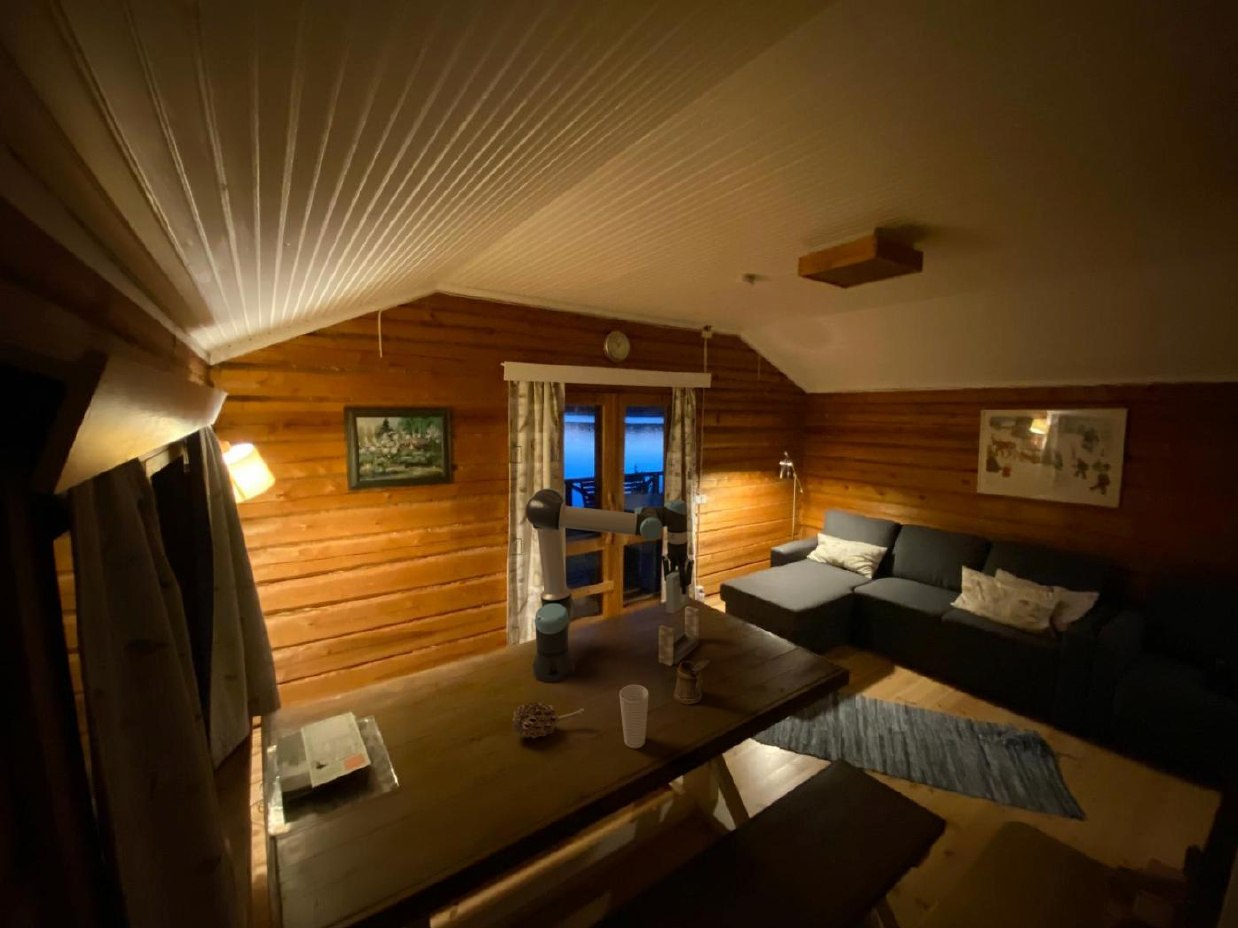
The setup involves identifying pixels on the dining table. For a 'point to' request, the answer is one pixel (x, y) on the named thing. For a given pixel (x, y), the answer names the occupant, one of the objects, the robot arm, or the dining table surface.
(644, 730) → the cup
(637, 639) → the dining table surface
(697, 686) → the wooden mug
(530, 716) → the dried seed pod
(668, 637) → the u-shaped holder
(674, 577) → the door panel
